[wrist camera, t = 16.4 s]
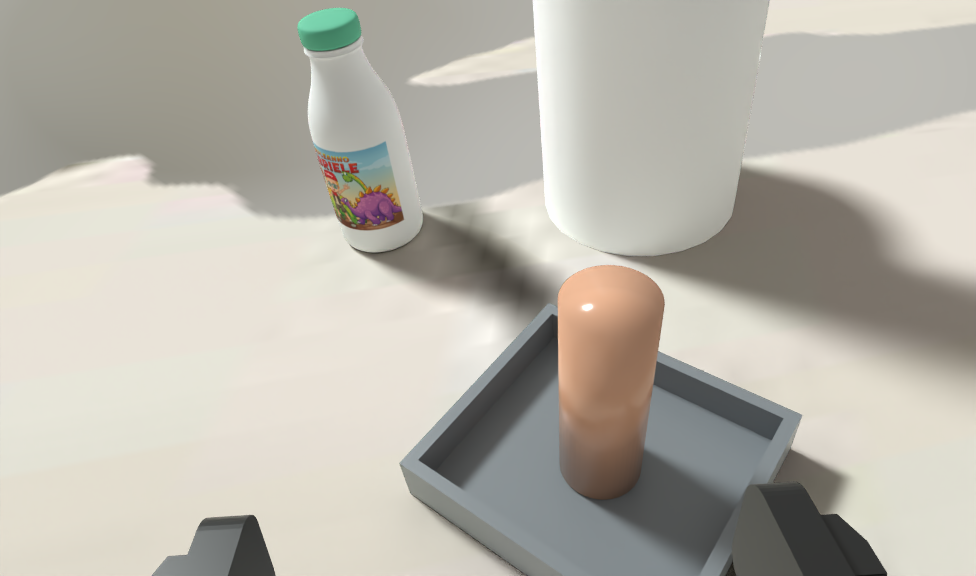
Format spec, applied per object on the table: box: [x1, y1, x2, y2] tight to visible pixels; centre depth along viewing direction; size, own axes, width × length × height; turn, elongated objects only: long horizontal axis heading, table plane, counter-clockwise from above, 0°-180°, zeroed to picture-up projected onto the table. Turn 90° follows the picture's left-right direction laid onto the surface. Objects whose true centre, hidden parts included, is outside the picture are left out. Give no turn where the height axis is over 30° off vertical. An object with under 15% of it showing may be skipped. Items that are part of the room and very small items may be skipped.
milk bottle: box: [298, 8, 423, 252], centre depth 56 cm, size 8×8×20 cm
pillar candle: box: [558, 265, 665, 500], centre depth 36 cm, size 5×5×14 cm
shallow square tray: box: [399, 303, 802, 576], centre depth 41 cm, size 18×16×4 cm
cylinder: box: [533, 0, 770, 256], centre depth 53 cm, size 17×17×28 cm
